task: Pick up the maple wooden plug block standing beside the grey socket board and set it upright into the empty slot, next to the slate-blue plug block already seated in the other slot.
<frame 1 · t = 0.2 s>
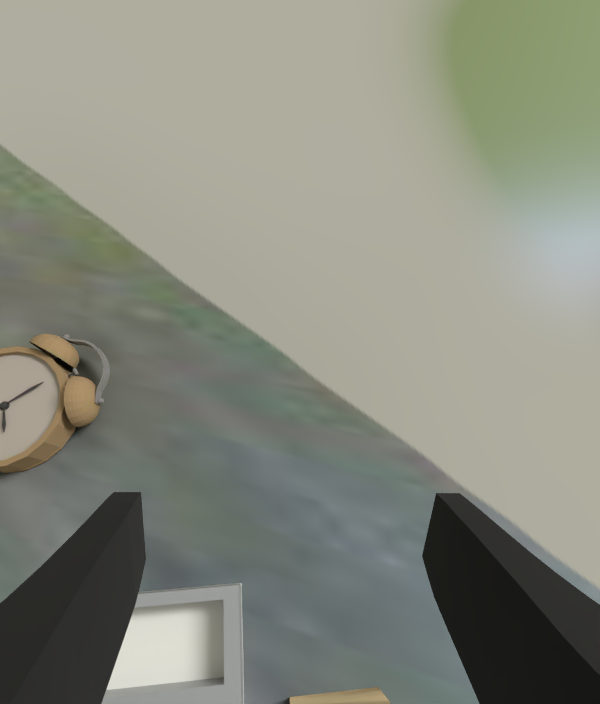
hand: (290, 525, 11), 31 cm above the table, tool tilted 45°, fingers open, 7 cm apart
alarm clock: (42, 405, 43), on the table
grey socket board: (151, 701, 34), on the table
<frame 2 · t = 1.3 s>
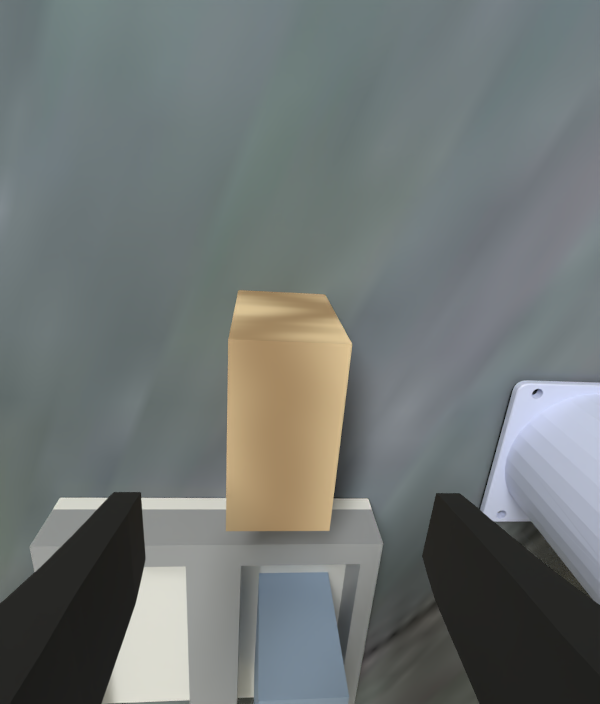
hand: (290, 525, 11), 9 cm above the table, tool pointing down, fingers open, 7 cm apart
maple plug block: (277, 369, 20), on the table
grey socket board: (218, 600, 24), on the table
slate-blue plug block: (289, 620, 24), point 1 cm above the table, touching grey socket board
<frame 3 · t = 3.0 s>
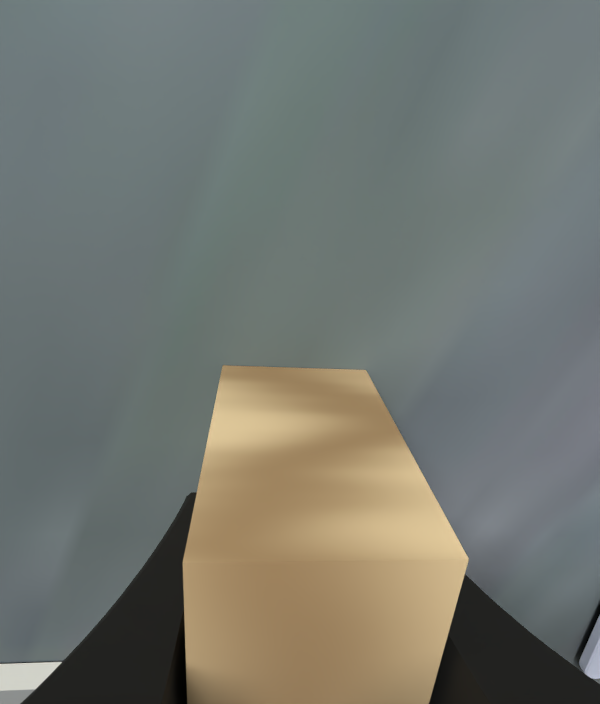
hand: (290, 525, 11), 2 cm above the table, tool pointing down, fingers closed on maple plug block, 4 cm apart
maple plug block: (287, 482, 12), on the table, touching gripper
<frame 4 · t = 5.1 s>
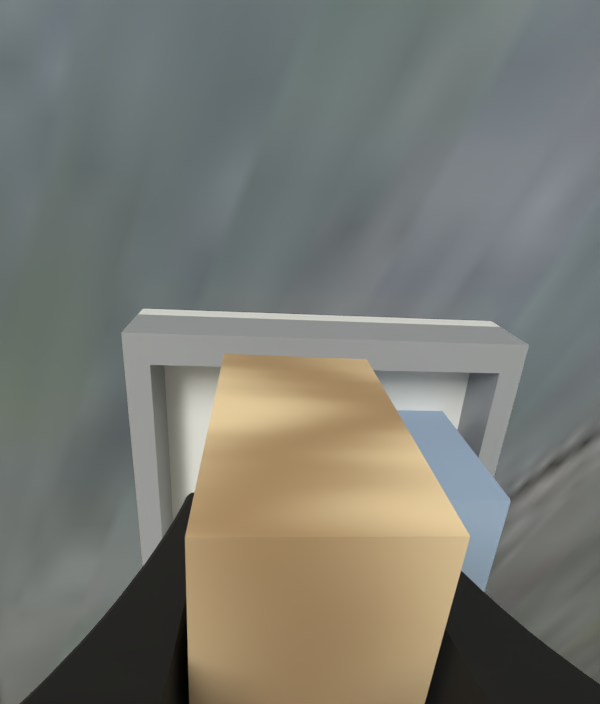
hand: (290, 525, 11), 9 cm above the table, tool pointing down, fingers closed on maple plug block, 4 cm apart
maple plug block: (287, 472, 12), point 8 cm above the table, touching gripper
grey socket board: (312, 453, 21), on the table
slate-blue plug block: (393, 474, 21), point 1 cm above the table, touching grey socket board
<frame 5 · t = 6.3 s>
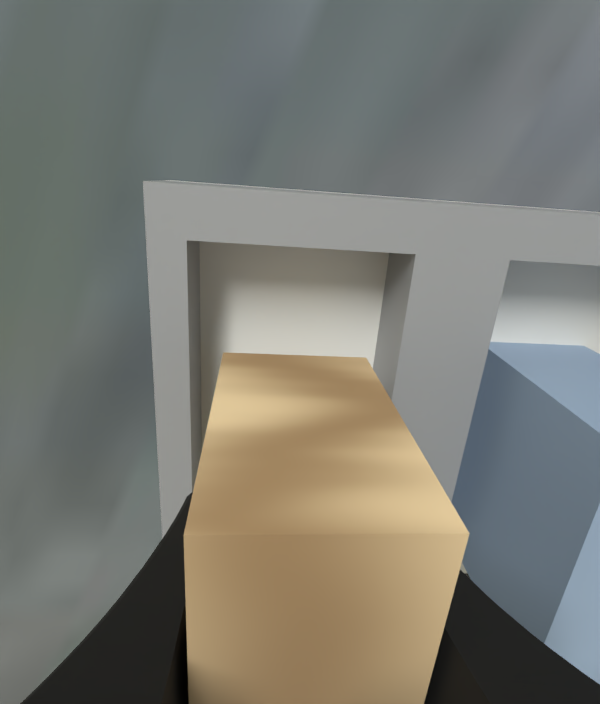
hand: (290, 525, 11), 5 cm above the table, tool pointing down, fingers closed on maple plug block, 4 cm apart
maple plug block: (287, 471, 12), point 3 cm above the table, touching gripper
grey socket board: (393, 408, 16), on the table
slate-blue plug block: (505, 436, 15), point 1 cm above the table, touching grey socket board
when the fingers open (4 cm above the table, at t = 7.3 s): maple plug block drops 1 cm, resting on grey socket board.
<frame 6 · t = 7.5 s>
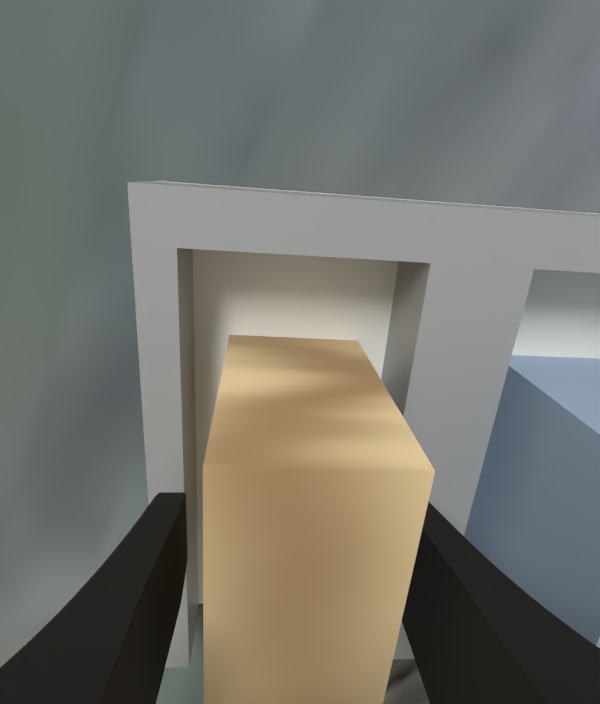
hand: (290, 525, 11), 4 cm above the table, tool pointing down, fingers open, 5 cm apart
maple plug block: (286, 444, 14), point 1 cm above the table, touching grey socket board
grey socket board: (402, 424, 15), on the table
slate-blue plug block: (521, 455, 14), point 1 cm above the table, touching grey socket board
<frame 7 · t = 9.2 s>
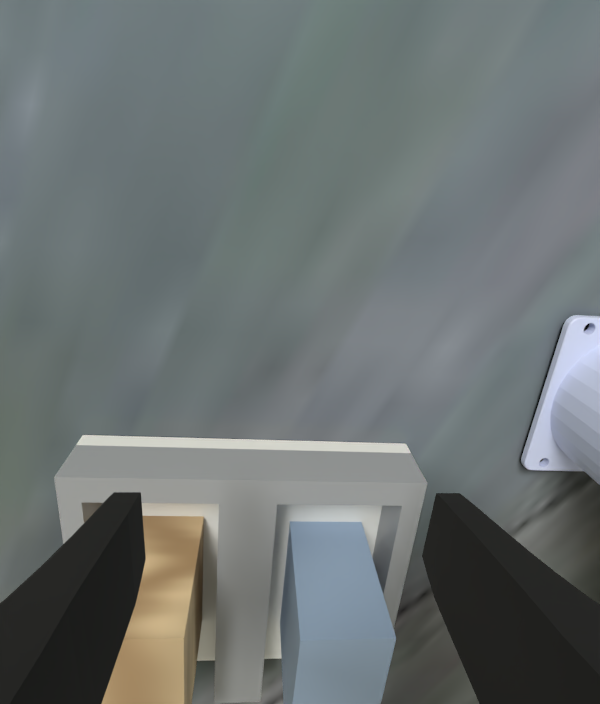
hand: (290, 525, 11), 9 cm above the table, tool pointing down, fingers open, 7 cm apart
maple plug block: (166, 571, 22), point 1 cm above the table, touching grey socket board
grey socket board: (244, 553, 23), on the table
slate-blue plug block: (318, 574, 23), point 1 cm above the table, touching grey socket board
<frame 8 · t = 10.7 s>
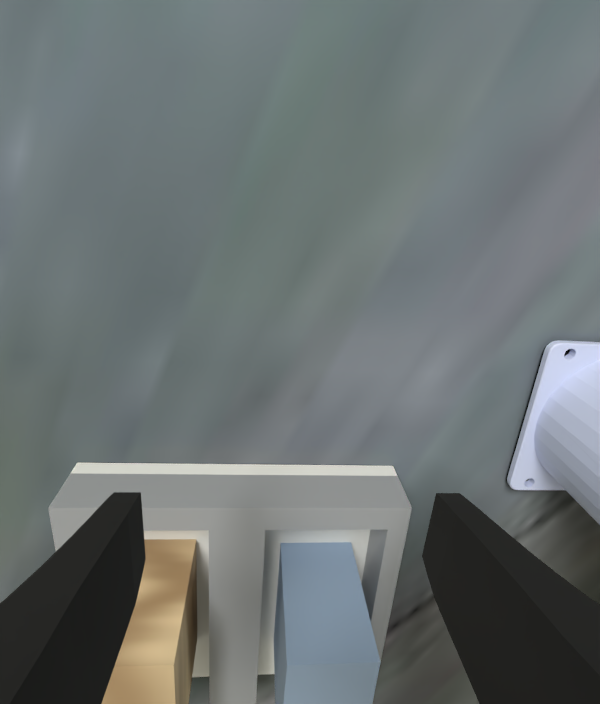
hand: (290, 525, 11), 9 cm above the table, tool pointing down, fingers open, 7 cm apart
maple plug block: (161, 592, 23), point 1 cm above the table, touching grey socket board
grey socket board: (237, 573, 24), on the table
slate-blue plug block: (310, 593, 24), point 1 cm above the table, touching grey socket board
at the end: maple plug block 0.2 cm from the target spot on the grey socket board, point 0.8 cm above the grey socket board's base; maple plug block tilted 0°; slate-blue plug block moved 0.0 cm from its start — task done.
